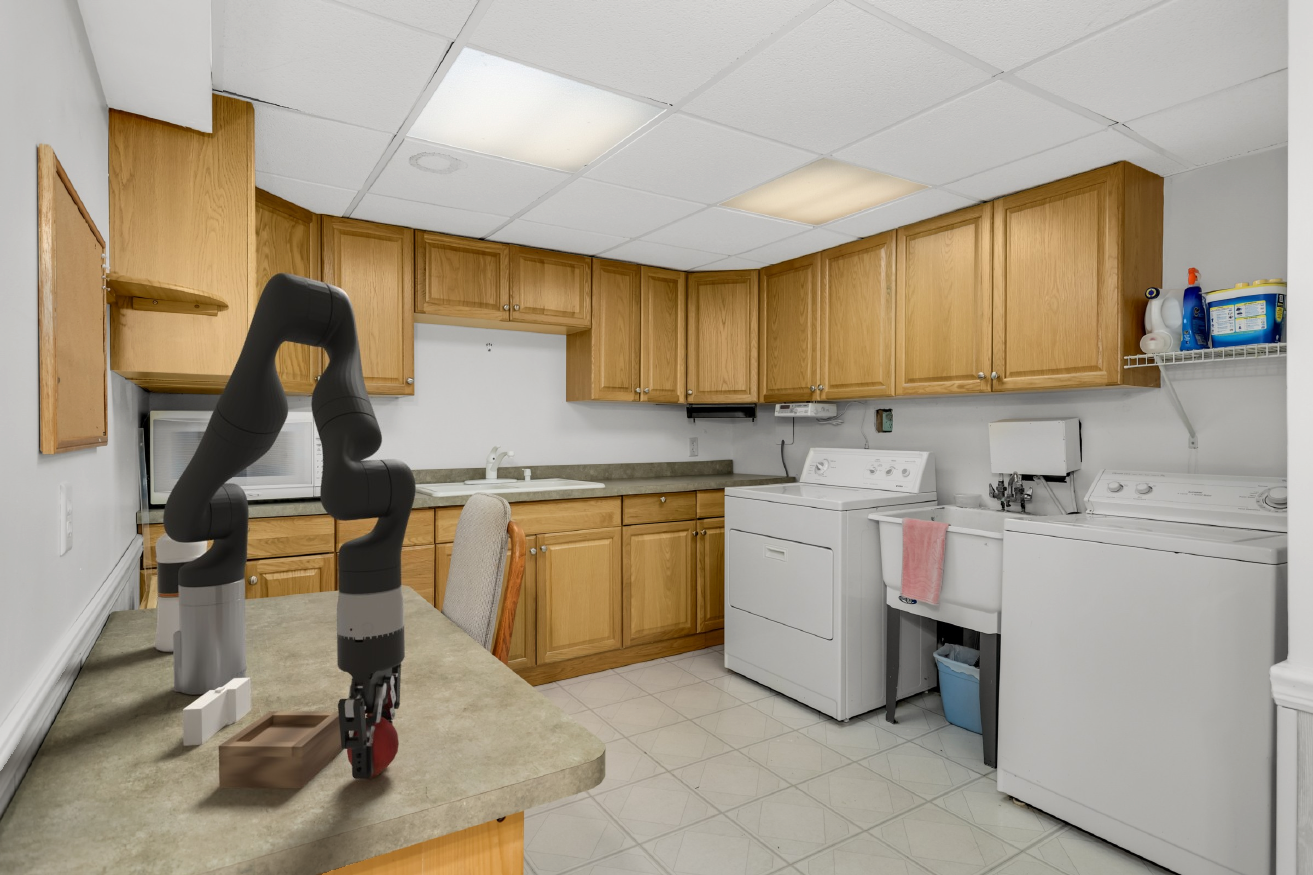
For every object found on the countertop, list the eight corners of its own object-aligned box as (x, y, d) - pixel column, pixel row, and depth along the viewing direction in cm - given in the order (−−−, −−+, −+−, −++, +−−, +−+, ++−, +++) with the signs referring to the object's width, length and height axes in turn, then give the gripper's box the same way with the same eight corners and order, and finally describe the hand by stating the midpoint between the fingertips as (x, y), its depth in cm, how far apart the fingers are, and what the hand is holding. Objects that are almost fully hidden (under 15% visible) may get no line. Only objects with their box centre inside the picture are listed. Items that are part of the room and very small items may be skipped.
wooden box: (219, 789, 81) (218, 746, 81) (270, 750, 91) (269, 711, 91) (302, 790, 81) (301, 746, 81) (344, 750, 91) (343, 711, 91)
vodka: (170, 656, 129) (167, 496, 129) (144, 648, 134) (141, 494, 133) (221, 642, 137) (218, 492, 137) (195, 636, 142) (193, 490, 141)
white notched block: (186, 760, 89) (185, 716, 89) (145, 739, 95) (145, 698, 95) (298, 717, 102) (297, 679, 102) (256, 702, 108) (255, 665, 108)
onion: (357, 765, 86) (356, 701, 86) (404, 763, 87) (403, 699, 86) (340, 789, 80) (338, 721, 80) (390, 787, 81) (389, 719, 81)
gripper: (363, 610, 90) (365, 737, 90) (311, 644, 76) (314, 796, 76) (420, 609, 90) (422, 736, 91) (380, 643, 76) (383, 794, 76)
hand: (373, 763), depth 83 cm, fingers closed on onion, 6 cm apart
